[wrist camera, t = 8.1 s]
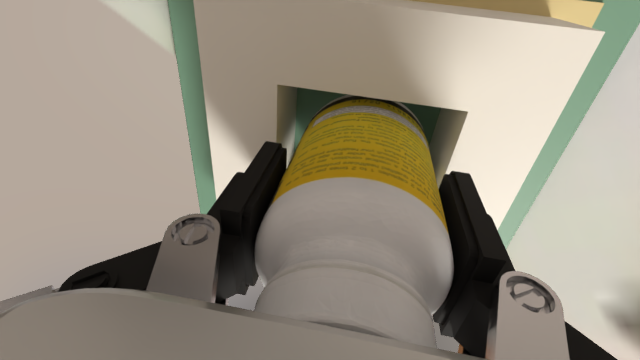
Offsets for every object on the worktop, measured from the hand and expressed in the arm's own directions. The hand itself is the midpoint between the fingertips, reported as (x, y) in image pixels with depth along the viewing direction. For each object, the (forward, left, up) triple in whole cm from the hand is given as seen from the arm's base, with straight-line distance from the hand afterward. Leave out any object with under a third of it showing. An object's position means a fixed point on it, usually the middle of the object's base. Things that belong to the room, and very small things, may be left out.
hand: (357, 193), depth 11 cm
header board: (0, 0, -5) cm, 5 cm away
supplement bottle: (0, 0, -4) cm, 4 cm away
